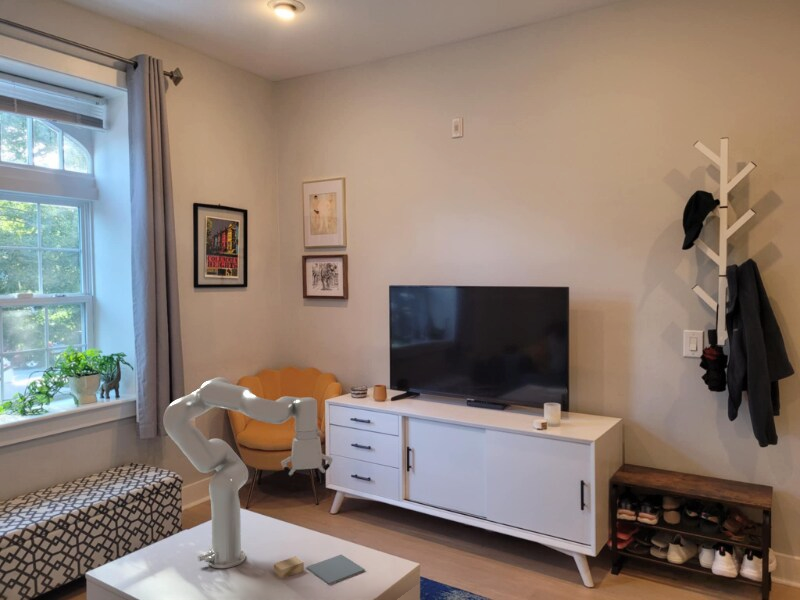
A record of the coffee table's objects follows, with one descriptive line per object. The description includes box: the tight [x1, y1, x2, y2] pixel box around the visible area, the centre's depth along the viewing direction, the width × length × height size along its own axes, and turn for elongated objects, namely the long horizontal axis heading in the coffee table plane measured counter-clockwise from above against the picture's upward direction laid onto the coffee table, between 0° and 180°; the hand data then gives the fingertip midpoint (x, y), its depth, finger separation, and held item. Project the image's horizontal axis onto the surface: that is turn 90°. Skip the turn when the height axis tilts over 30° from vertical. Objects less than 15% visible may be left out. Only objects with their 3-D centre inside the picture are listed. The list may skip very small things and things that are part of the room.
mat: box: [305, 554, 366, 586], centre depth 193 cm, size 14×14×1 cm
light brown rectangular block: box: [273, 556, 304, 580], centre depth 192 cm, size 8×6×3 cm
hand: (307, 484), depth 198 cm, fingers open, 9 cm apart
